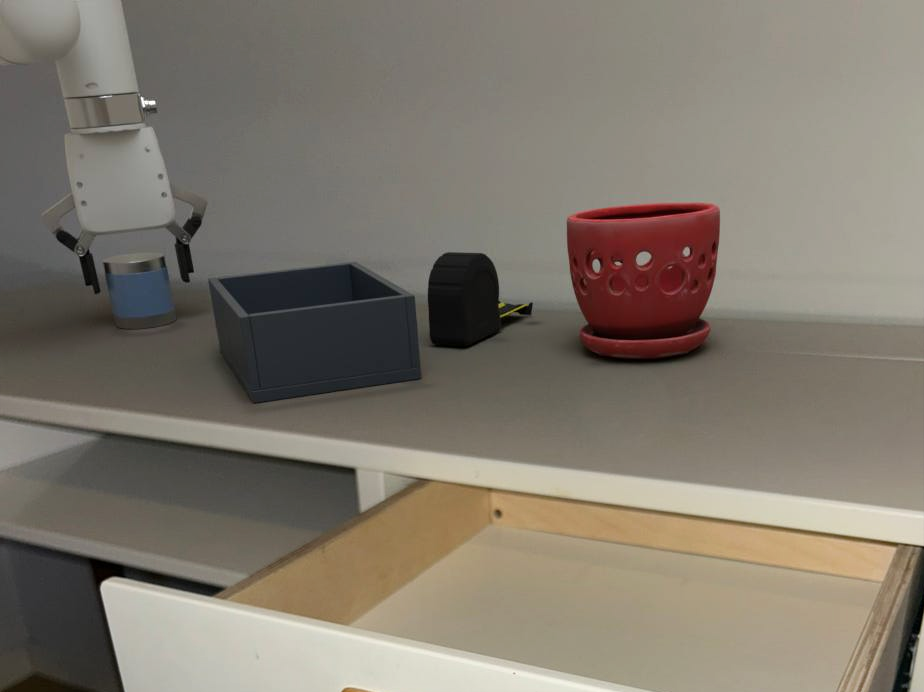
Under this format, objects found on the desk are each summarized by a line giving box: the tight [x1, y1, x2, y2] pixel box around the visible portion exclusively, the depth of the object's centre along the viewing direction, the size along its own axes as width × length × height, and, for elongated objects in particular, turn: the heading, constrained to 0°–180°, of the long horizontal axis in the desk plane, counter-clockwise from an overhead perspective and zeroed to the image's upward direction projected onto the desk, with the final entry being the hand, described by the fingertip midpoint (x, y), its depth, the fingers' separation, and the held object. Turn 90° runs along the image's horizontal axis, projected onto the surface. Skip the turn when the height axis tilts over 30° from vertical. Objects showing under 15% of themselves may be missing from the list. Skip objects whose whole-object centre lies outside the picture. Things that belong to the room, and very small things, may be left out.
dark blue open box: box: [207, 261, 422, 404], centre depth 97 cm, size 15×21×7 cm
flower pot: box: [566, 202, 721, 360], centre depth 94 cm, size 13×13×12 cm
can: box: [102, 252, 177, 330], centre depth 119 cm, size 7×7×7 cm
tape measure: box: [427, 251, 534, 347], centre depth 105 cm, size 15×4×8 cm, turn 152°
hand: (142, 286), depth 119 cm, fingers open, 9 cm apart
